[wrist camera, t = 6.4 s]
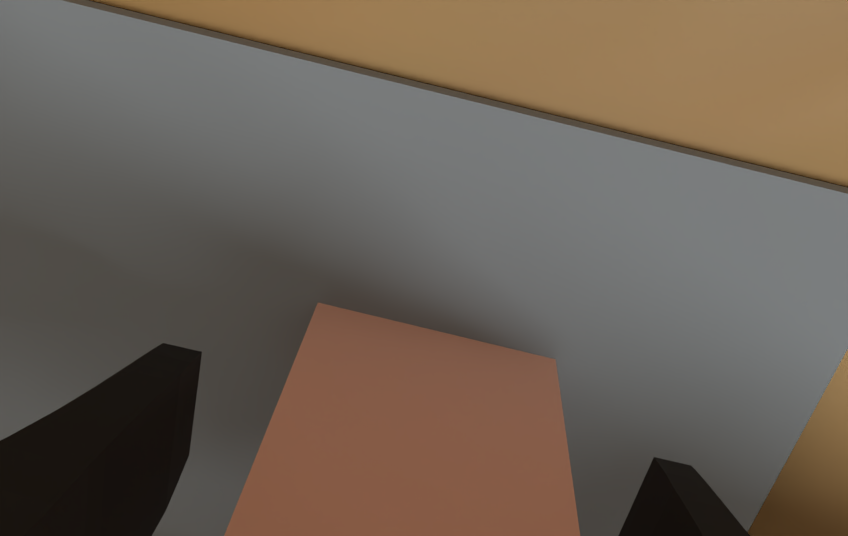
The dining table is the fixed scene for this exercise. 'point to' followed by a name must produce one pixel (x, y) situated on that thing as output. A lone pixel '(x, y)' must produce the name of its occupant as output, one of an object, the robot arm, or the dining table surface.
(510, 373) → the tile
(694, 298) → the mat
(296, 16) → the dining table surface
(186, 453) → the robot arm
